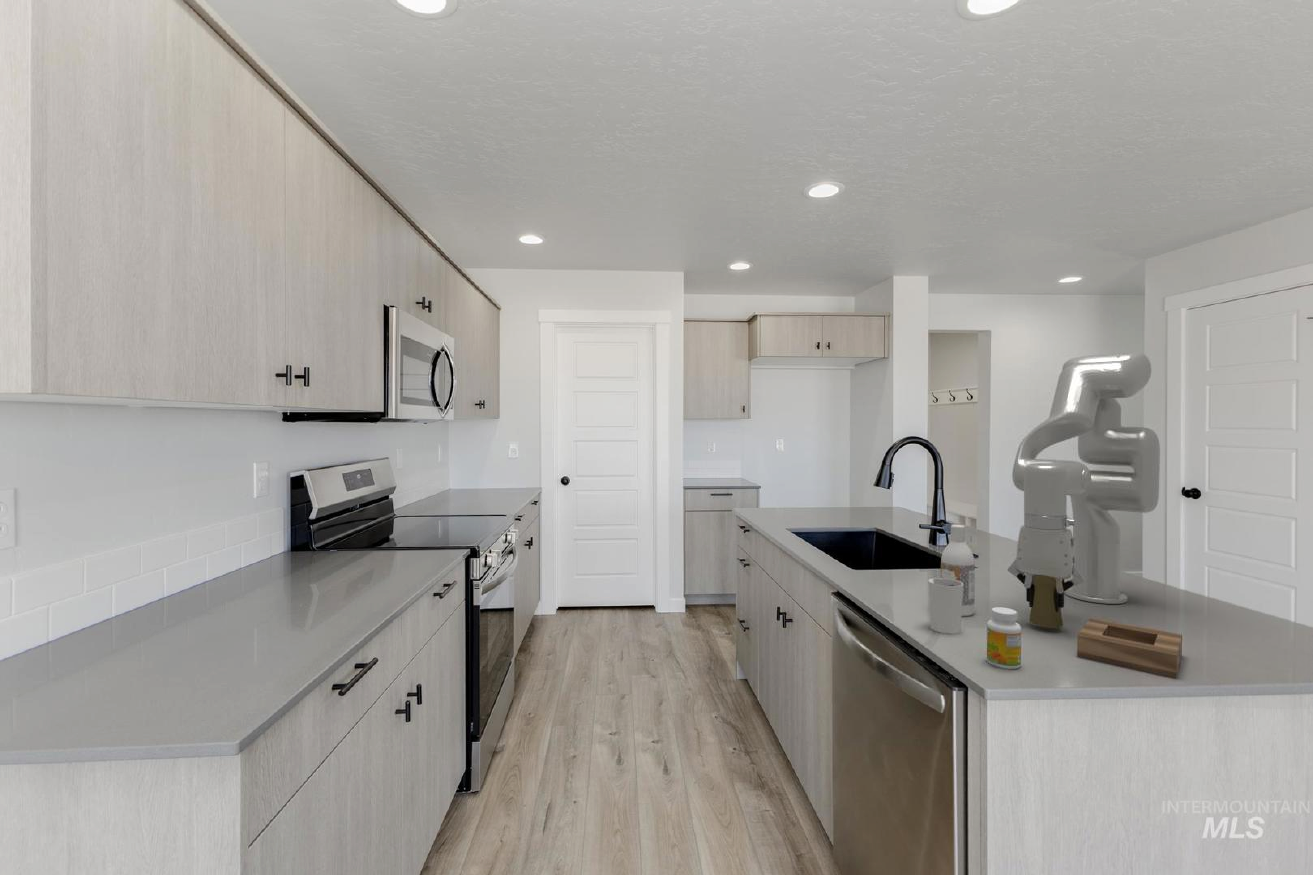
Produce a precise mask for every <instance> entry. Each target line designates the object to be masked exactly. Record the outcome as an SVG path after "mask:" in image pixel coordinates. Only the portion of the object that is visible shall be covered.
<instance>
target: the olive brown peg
mask: <svg viewBox="0 0 1313 875" xmlns="http://www.w3.org/2000/svg"><path fill="white" fill-rule="evenodd" d="M1032 583H1033V585H1034V597H1033V607H1030V612H1029V613H1030V614H1029V620H1028V621H1029V623H1031V624H1032V625H1036V626H1038V627H1042V628H1053V629H1055V628H1062V627H1063V626H1064V621H1063V616H1062V614H1063V613H1062V608H1060V607H1059V608H1058V612H1056V611H1055V603H1054V593H1055V592H1056V580H1055V578H1053V577H1049V576H1045V575H1033V576H1032Z"/></svg>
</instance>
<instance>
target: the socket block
mask: <svg viewBox="0 0 1313 875" xmlns="http://www.w3.org/2000/svg"><path fill="white" fill-rule="evenodd" d="M1076 638H1077V641H1076V642H1077V643H1076V645H1077V646H1076V647H1077V649H1076V652H1077V653H1076V654H1077V656H1076V657H1077V658H1082V659H1087V660H1091V661H1095V662H1100V663H1105V664H1108V665H1109V664H1110V665H1113V666H1117V667H1122V668H1123V667H1124V668H1127V669H1132V670H1136V671H1140V672H1145V673H1150V674H1154V675H1158V676H1164V677H1168V678H1172V679H1177V677H1178V673H1179V668H1180V664H1181V660H1182V656H1183V655H1182V654H1183V652H1182V651H1183V633H1177V632H1171V631H1167V630H1166V631H1165V630H1160V629H1156V628H1155V629H1154V628H1149V627H1143V626H1137V625H1132V624H1126V623H1121V622H1115V621H1110V620H1105V619H1101V618H1095V617H1090V618H1089V619H1088V620H1087V622H1086V623H1085V625H1084V626H1083V627H1082V628H1081V630H1080V631H1079V632H1078V634H1077V636H1076Z"/></svg>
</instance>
